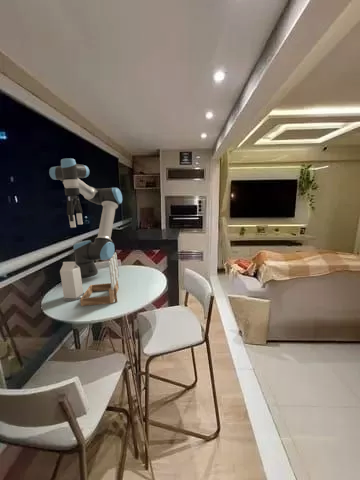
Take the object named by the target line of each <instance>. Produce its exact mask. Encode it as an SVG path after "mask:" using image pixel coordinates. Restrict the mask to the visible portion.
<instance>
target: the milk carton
mask: <svg viewBox="0 0 360 480" xmlns="http://www.w3.org/2000/svg"><path fill="white" fill-rule="evenodd" d="M59 274H60V279H61V280H60V281H61V286H62V287H61V288H62V294H63V297H64V298H77V297H79V296H80V295H81V294H83V293H84V288H83V279H82V278H81V272H80V267H79V266H78V265H77V264H76V261H63V262H62V266H61V268H60V270H59Z"/></svg>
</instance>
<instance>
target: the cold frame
mask: <svg viewBox="0 0 360 480" xmlns="http://www.w3.org/2000/svg"><path fill="white" fill-rule="evenodd" d="M108 260H109V261H108V263H107V264H108V270H109V271H108V272H109V279H110V282H108V283H99V284H98V283H97V284H90V285H89V286H88V288H87V289H86V290H85V292H83V293H84V295H83V296H82V298H81V299H79V300H80V307H85V306H97V305H107V304H109V305H110V304H114V303H118V294H117V293H118V291H119V289H120V288H119V277H120V275H119V265H118V256H117V252H114V254H113V256H112V258H110V259H108ZM103 291H108V294H109V295H104V296H103V295H101V296H93V297H92V296H91V295H92V293H93V292H103Z"/></svg>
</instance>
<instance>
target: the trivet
mask: <svg viewBox="0 0 360 480" xmlns="http://www.w3.org/2000/svg"><path fill="white" fill-rule="evenodd" d="M84 293H85V292H83V294H81V295H80V296H79V297H77V298H64V296H63V297H62V300H63V301H64V302H75V301H78V300H80V299H81V298H82V296H83V295H84Z"/></svg>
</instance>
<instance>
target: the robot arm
mask: <svg viewBox="0 0 360 480" xmlns="http://www.w3.org/2000/svg"><path fill="white" fill-rule="evenodd" d="M48 171H49V172H48V173H49V176H50V178H51V179H52V180H55V181H56V180H57V181H59V180H60V181H61V182H62V184H63V186H64V195H65V196H66V216H68V220H69V225H70V226H69V227H70V228H77V225H83V224H84V222H83V213H84V212H83V209H82V205H81V202H80V197H79V195H80V194H81V195H82V196H83V197H84V199H85V200H88V201H89V202H91V203H94V204H96V205H101V206H102V212H101V217H100V222H99V226H98V227H99V228H98V231H97V237H95V238H94V242H92V240H91V239H89V240H88V239H87V240H83V241H79V242H78V241H77V242H76V243H74V244H73V255H74V259H75V261H74V262H75V264H77V265H78V266H79V267H80V272H81V279H83V278H88V277H93V276H96V275H97V274H98V273H99V271H98V268H97V265H96V263H95V261H97V260H98V261H100V260H101V261H106V260H110V259H111V258H112V256H113V255H114V253H115V252H116V251H115V243H114V242H113V240H112V239H111V237H112V232H113V225H114V221H115V215H116V210H117V209H118V208H119V205H121V204H122V203H123V194H122V191H121V190H120V189H119V188H118V187H109V188H108V187H107V188H105V187H104V188H95V187H93V186H90V185H88V184H86V183H85V182H84V181H83V180H81V179H84V178H87V177H89V175H90V169H89V167H88V166H87V165H84V164H79V163H77V162H76V159H74V158H71V157H70V158H67V157H66V158H62V159H60V165H57V166H51V167H50V168H49V170H48ZM75 212H76V219H75V214H74V213H75ZM76 221H77V222H76ZM76 223H77V225H76Z"/></svg>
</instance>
